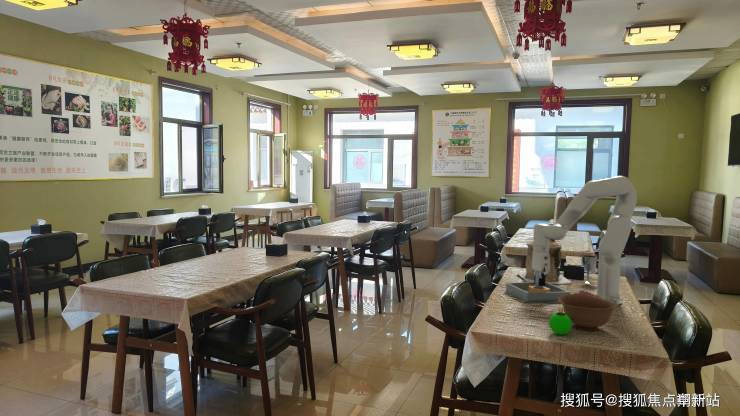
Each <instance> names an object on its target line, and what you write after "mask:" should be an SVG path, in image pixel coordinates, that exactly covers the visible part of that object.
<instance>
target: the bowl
mask: <svg viewBox="0 0 740 416" xmlns="http://www.w3.org/2000/svg"><path fill="white" fill-rule="evenodd" d="M558 303H560V304H561V305H562V306H563V313H565V314H566V315H567V316H568V317H569V318H570V319H571V322H572V324H573V327H574V328H576V329H577V330H580V331H585V332H596V331H598V330H599V328H600V327H602V326H604V325H606V324H607V323H608V322H609V320H610V318H611V316H612V312H613V310H614V309H617V308H618V307H619V304H616V303H614V302H611V301H608V300H605V299H602V298H599V297H595V296H591V295H585V294H575V293H570V294H567V295H562V296H560V297H558Z"/></svg>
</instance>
